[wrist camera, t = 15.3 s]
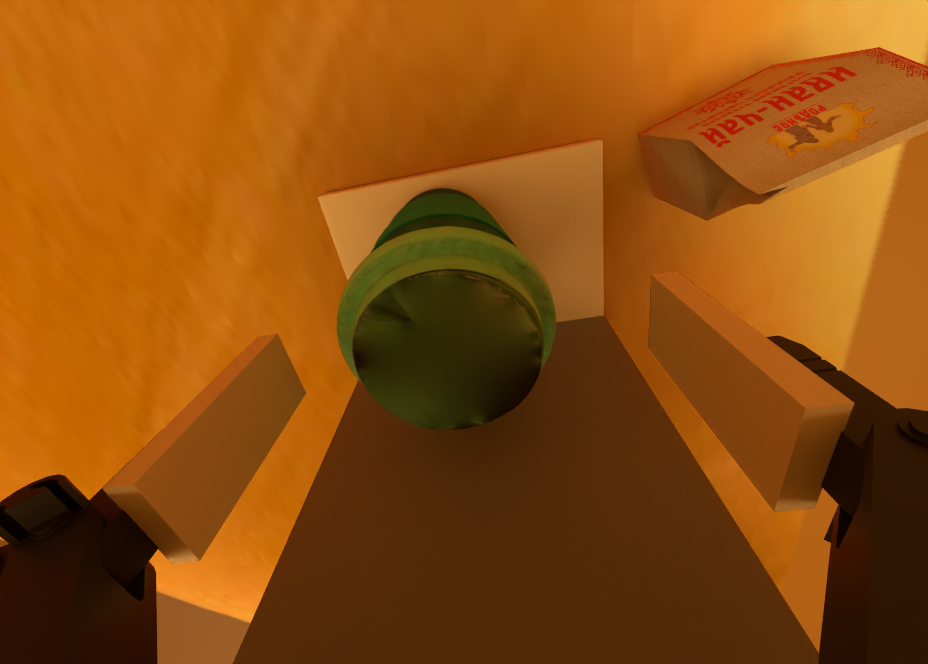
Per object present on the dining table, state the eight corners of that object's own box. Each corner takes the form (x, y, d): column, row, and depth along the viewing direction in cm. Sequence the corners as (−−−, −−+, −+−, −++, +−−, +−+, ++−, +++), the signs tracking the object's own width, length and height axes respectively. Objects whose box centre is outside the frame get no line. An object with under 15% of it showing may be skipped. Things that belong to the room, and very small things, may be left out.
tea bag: (779, 137, 21) (995, 154, 12) (654, 196, 23) (765, 247, 14) (771, 65, 19) (1013, 24, 11) (637, 134, 21) (752, 147, 12)
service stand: (599, 331, 27) (892, 850, 8) (383, 362, 29) (203, 843, 10) (596, 138, 21) (1754, 374, 2) (324, 193, 23) (-433, 585, 4)
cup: (470, 145, 20) (464, 177, 10) (551, 261, 23) (611, 379, 13) (364, 237, 23) (271, 338, 13) (449, 330, 26) (431, 475, 16)
